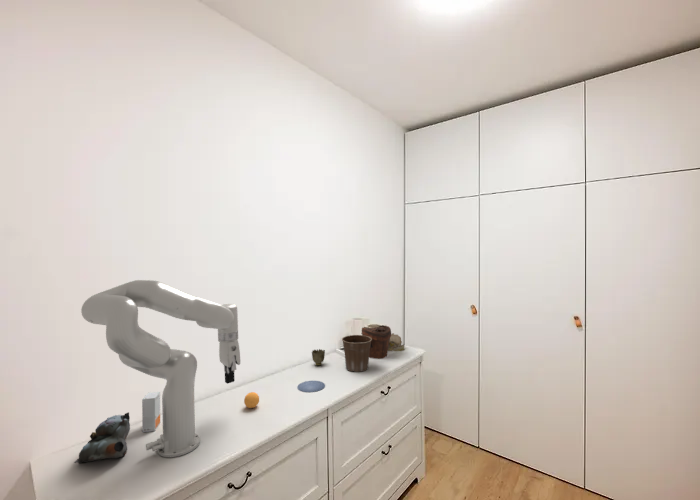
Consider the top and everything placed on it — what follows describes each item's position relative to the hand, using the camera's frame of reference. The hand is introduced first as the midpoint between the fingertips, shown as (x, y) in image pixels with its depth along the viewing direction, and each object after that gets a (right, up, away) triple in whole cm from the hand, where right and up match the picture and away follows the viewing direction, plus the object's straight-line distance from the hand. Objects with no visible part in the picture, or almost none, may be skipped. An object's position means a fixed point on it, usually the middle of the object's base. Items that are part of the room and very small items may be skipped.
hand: (229, 381), depth 132 cm
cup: (+30, -13, +55) cm, 64 cm away
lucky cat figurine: (-30, -14, -26) cm, 42 cm away
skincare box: (-26, -14, -9) cm, 30 cm away
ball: (+7, -10, +6) cm, 13 cm away
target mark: (+29, -12, +26) cm, 41 cm away
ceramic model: (+76, -12, +84) cm, 114 cm away
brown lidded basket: (+64, -12, +71) cm, 96 cm away
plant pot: (+52, -12, +49) cm, 72 cm away
